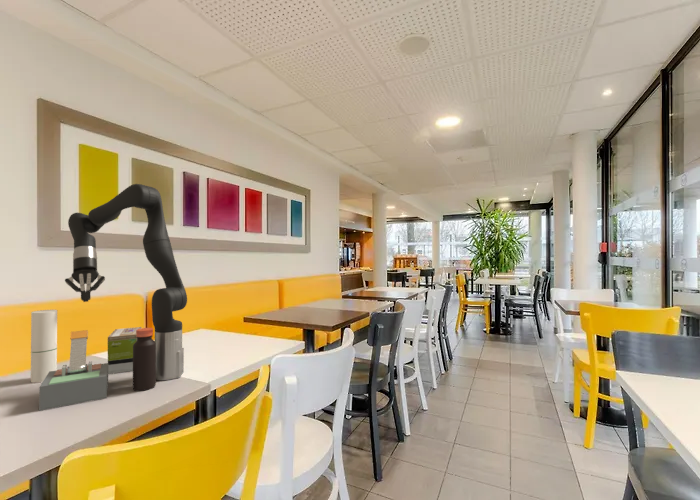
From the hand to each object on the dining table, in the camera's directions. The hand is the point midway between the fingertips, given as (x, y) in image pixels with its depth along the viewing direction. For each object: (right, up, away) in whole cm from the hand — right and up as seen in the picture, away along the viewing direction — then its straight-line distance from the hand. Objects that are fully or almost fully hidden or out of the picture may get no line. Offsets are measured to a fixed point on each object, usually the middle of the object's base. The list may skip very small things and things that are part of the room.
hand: (85, 301), depth 131 cm
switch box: (+13, -28, -20) cm, 36 cm away
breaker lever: (+13, -20, -20) cm, 31 cm away
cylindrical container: (-11, -28, -5) cm, 31 cm away
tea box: (+10, -28, +8) cm, 31 cm away
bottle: (+31, -28, -14) cm, 44 cm away
